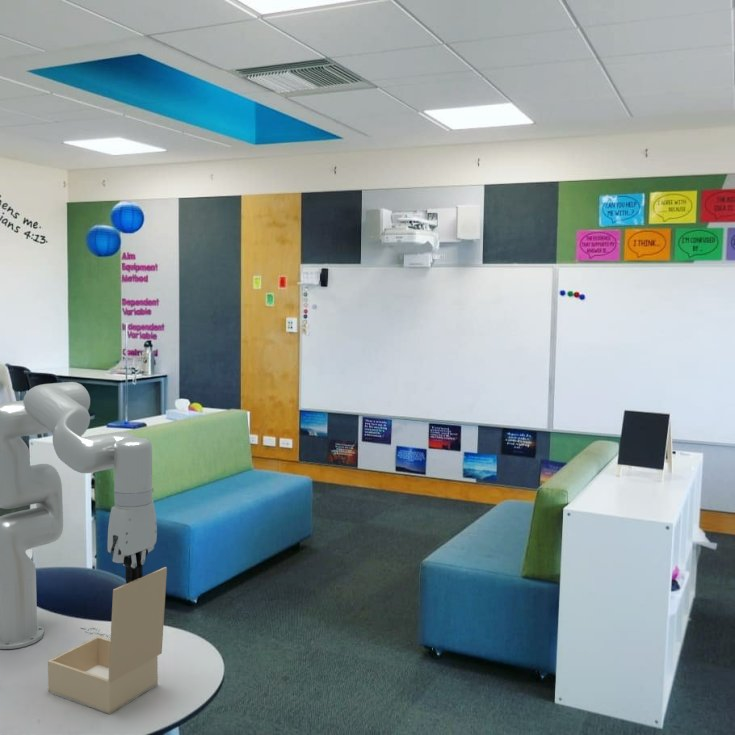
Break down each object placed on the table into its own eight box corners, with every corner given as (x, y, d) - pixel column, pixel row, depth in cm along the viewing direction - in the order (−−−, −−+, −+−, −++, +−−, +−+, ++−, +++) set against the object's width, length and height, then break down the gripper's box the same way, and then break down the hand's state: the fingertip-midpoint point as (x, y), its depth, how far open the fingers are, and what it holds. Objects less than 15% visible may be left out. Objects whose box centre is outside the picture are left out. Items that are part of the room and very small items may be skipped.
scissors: (122, 618, 206) (145, 646, 190) (122, 621, 206) (146, 650, 190) (80, 627, 200) (101, 657, 184) (80, 630, 200) (101, 660, 184)
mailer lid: (113, 589, 156) (114, 590, 156) (165, 566, 169) (166, 567, 169) (108, 681, 159) (110, 682, 158) (160, 652, 172) (161, 653, 172)
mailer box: (48, 692, 168) (47, 661, 168) (98, 665, 181) (98, 636, 180) (109, 714, 160) (109, 681, 159) (157, 684, 172) (157, 654, 172)
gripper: (145, 487, 170) (146, 569, 172) (92, 503, 157) (93, 591, 159) (172, 492, 167) (172, 575, 168) (119, 509, 153) (120, 599, 155)
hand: (134, 583), depth 164 cm, fingers closed
